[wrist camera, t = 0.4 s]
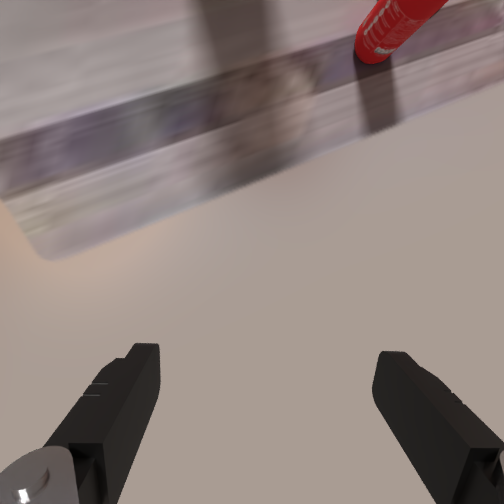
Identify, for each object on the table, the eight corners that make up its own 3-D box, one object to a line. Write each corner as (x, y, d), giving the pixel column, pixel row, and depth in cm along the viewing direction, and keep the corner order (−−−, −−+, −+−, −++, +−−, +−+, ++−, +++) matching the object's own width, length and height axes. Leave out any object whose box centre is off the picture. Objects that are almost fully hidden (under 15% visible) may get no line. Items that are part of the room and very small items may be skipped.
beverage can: (345, 59, 33) (410, -22, 22) (359, 16, 33) (434, -91, 21) (380, 73, 34) (461, 3, 22) (395, 32, 33) (486, -63, 22)
